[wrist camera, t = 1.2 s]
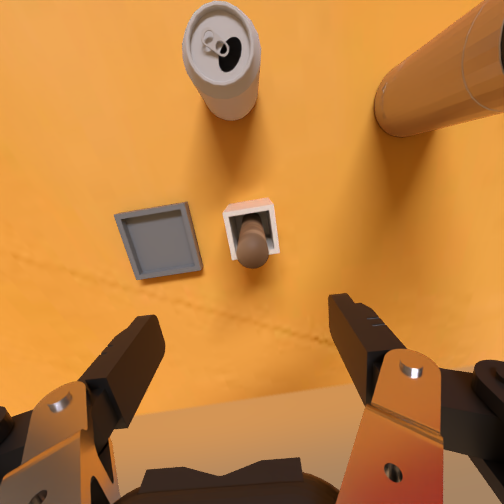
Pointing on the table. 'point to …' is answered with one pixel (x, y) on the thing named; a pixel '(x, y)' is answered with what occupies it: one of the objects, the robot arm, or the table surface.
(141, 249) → the tray
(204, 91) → the can
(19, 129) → the table surface
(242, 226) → the dowel
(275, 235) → the cup
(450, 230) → the table surface
